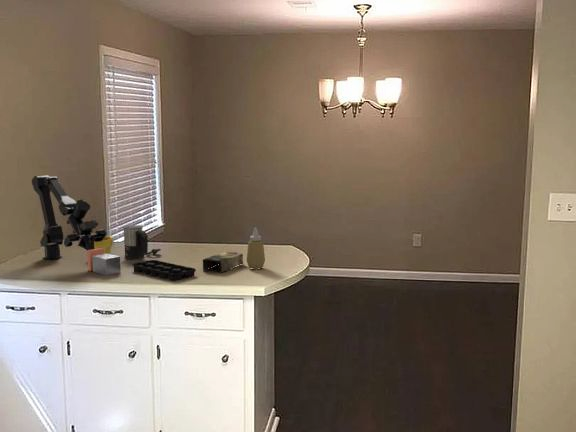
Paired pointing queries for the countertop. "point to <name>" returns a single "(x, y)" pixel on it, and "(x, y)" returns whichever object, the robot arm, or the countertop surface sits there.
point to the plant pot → (104, 244)
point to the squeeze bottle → (255, 251)
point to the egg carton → (164, 270)
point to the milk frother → (136, 242)
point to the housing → (106, 264)
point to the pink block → (92, 253)
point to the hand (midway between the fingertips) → (93, 253)
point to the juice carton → (223, 261)
